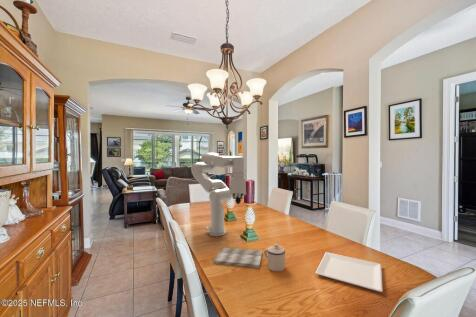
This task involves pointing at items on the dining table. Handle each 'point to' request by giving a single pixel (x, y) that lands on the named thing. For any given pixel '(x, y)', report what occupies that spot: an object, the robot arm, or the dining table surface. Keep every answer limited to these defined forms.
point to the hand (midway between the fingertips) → (238, 203)
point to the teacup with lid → (275, 257)
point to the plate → (351, 271)
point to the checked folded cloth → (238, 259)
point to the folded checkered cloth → (241, 251)
